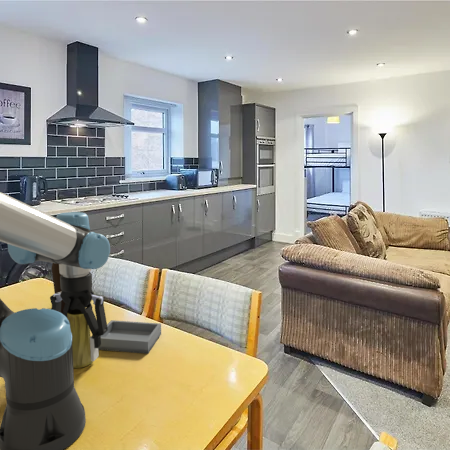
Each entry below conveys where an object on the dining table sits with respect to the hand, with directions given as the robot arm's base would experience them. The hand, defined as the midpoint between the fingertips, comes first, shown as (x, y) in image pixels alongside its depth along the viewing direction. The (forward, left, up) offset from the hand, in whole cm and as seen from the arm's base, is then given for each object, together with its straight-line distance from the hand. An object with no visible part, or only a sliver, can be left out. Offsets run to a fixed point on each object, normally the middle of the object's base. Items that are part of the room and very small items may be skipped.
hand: (80, 357), depth 97 cm
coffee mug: (+23, +16, -2) cm, 28 cm away
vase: (0, 0, -2) cm, 2 cm away
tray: (+13, -8, -1) cm, 15 cm away
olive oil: (+35, +23, -2) cm, 42 cm away
